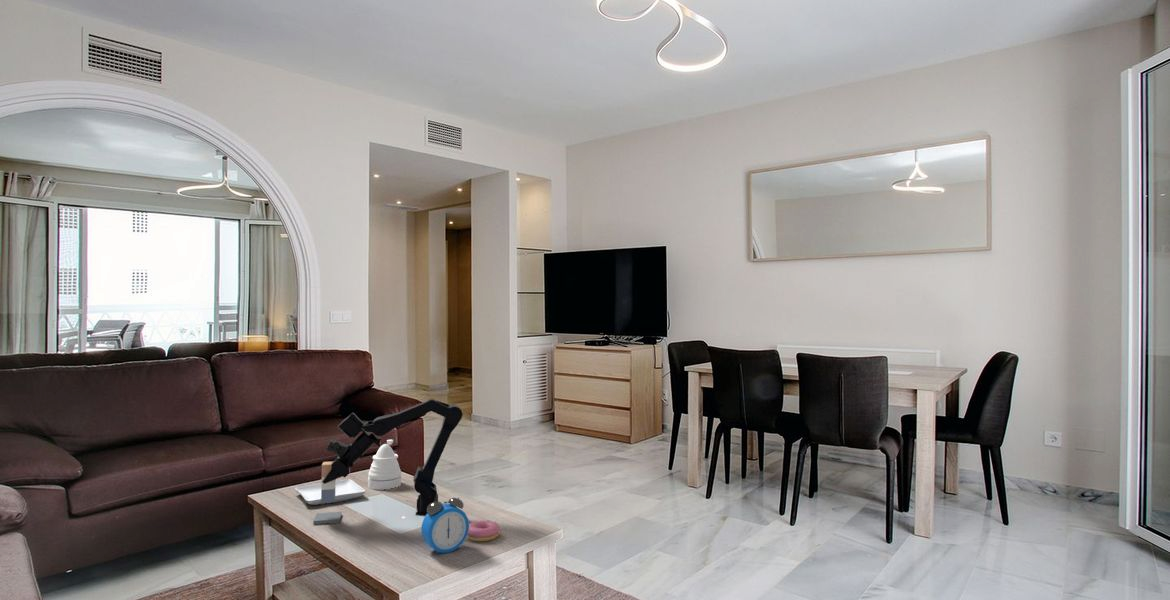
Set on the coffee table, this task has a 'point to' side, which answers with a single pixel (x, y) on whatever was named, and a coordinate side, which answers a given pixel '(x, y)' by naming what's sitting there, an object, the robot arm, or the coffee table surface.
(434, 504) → the alarm clock
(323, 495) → the brick stack
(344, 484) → the salad plate
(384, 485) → the honey pot
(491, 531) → the doughnut
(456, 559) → the coffee table surface
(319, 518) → the baseplate
